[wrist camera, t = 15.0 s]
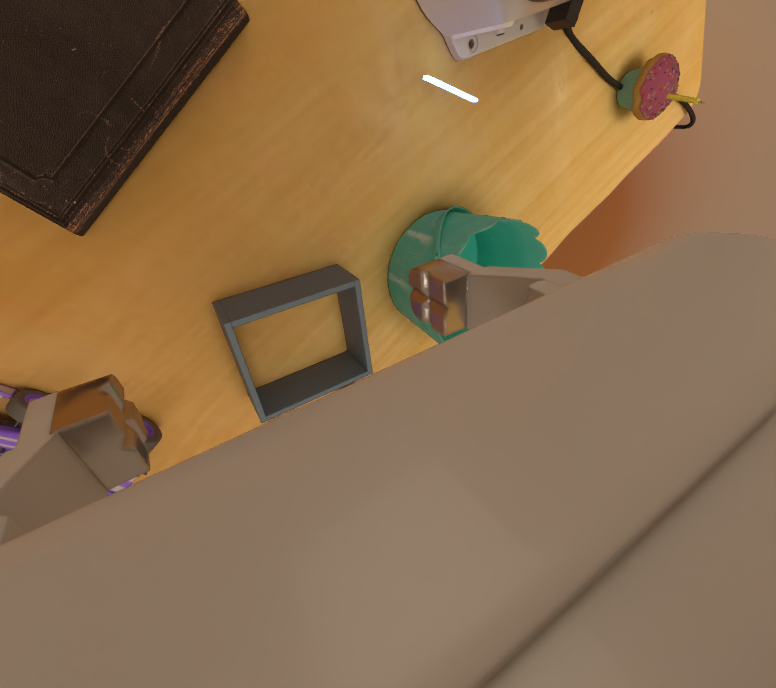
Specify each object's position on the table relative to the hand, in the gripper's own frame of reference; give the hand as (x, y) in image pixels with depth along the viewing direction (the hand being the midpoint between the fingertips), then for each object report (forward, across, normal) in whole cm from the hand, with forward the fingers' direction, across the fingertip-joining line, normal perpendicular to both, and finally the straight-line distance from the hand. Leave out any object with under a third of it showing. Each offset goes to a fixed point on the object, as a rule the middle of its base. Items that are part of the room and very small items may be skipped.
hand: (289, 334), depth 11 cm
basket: (+34, -30, +18) cm, 49 cm away
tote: (+34, -7, +20) cm, 40 cm away
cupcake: (+34, -69, 0) cm, 77 cm away
